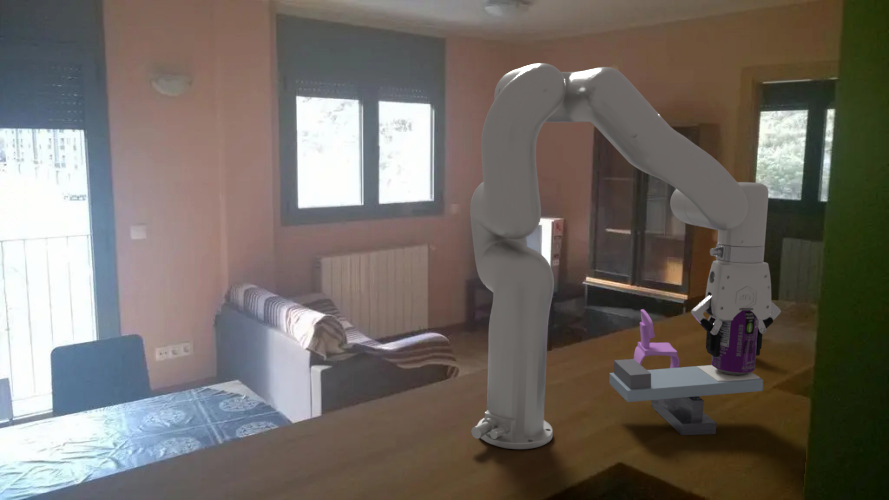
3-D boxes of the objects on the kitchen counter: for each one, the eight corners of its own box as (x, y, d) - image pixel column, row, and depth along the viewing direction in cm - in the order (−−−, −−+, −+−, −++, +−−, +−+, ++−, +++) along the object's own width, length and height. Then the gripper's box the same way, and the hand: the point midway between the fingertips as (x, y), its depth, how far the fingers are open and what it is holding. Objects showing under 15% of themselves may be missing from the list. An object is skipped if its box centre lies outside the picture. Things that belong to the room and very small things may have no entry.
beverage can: (758, 378, 119) (764, 310, 117) (714, 375, 120) (720, 307, 118) (749, 365, 126) (754, 301, 124) (707, 362, 127) (712, 298, 125)
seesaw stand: (681, 435, 117) (683, 403, 116) (650, 405, 130) (652, 377, 129) (715, 434, 117) (718, 402, 116) (681, 405, 130) (683, 376, 129)
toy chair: (680, 389, 139) (685, 316, 137) (635, 387, 139) (640, 315, 137) (668, 375, 147) (673, 306, 145) (626, 373, 147) (630, 305, 145)
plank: (627, 402, 117) (627, 376, 116) (609, 383, 126) (609, 359, 125) (762, 390, 119) (763, 365, 118) (735, 373, 128) (736, 349, 127)
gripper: (702, 258, 115) (695, 362, 118) (800, 257, 117) (792, 359, 120) (682, 251, 122) (676, 349, 125) (775, 250, 124) (767, 346, 127)
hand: (733, 353), depth 122 cm, fingers closed on beverage can, 6 cm apart
